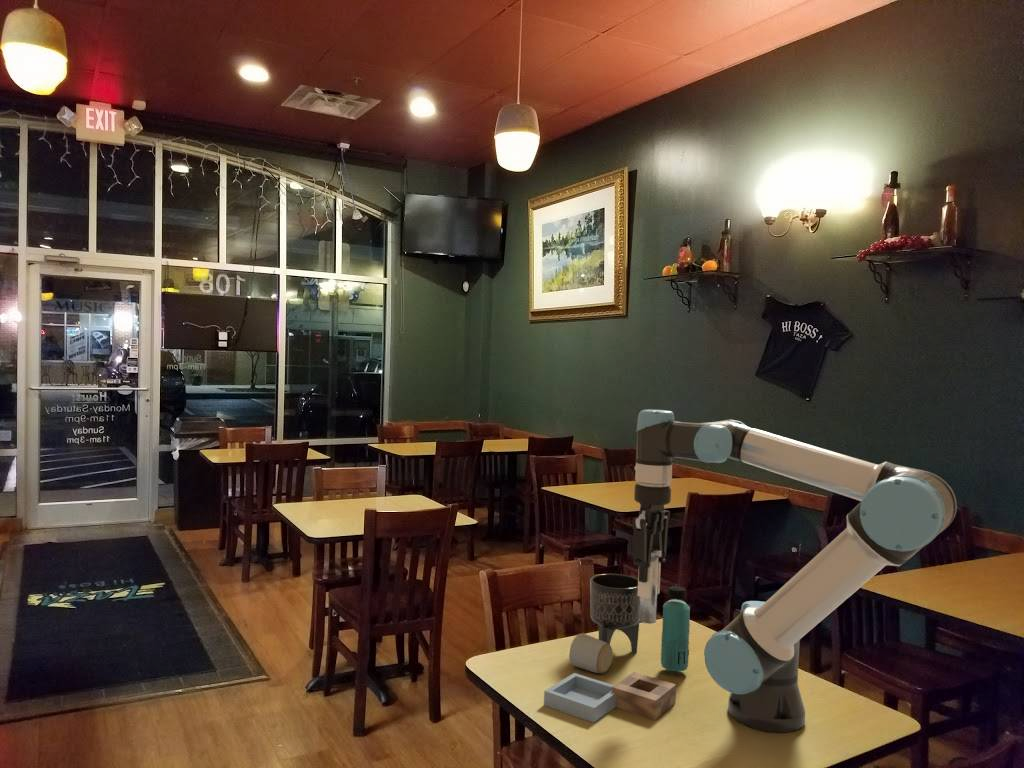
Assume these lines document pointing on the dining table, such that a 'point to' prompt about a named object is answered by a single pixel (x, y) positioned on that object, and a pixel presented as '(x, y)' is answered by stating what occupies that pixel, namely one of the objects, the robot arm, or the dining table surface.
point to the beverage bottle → (675, 631)
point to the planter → (615, 606)
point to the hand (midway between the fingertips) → (648, 594)
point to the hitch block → (644, 695)
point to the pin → (649, 605)
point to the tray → (581, 697)
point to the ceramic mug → (590, 654)
